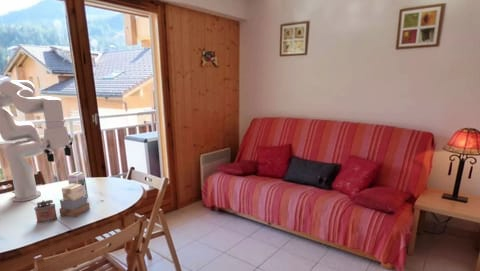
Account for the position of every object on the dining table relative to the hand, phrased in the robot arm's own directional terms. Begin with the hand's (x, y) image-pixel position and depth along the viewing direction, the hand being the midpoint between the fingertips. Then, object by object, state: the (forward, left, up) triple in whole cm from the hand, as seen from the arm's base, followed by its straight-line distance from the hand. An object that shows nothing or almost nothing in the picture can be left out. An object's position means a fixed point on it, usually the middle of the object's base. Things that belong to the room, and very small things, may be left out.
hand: (60, 158), depth 138 cm
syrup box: (-4, +12, -27) cm, 30 cm away
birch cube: (+7, -2, -19) cm, 20 cm away
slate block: (+7, -2, -23) cm, 24 cm away
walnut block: (+7, -3, -27) cm, 28 cm away
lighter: (0, -12, -27) cm, 30 cm away
